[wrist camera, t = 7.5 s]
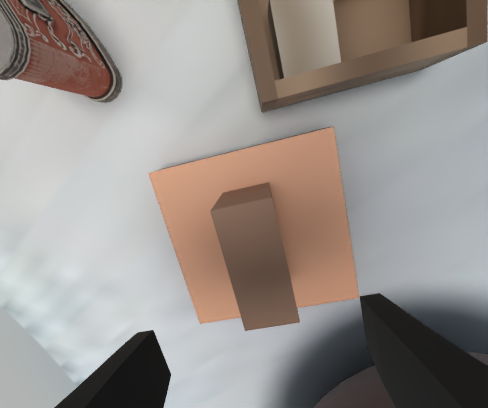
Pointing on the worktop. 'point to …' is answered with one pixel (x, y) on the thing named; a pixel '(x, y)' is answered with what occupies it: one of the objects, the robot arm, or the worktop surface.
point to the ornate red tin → (55, 49)
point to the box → (351, 42)
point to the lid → (261, 229)
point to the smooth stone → (366, 390)
